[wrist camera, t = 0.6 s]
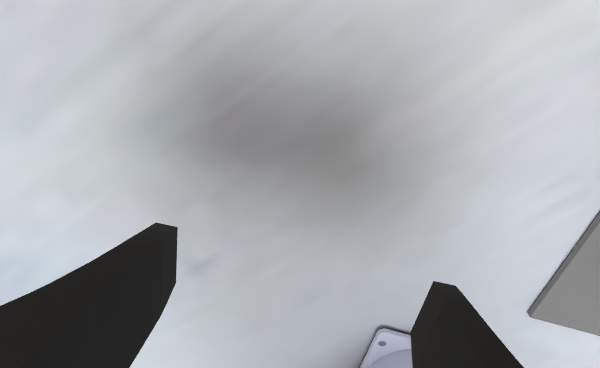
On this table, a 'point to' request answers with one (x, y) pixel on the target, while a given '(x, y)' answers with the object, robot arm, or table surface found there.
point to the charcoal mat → (575, 287)
